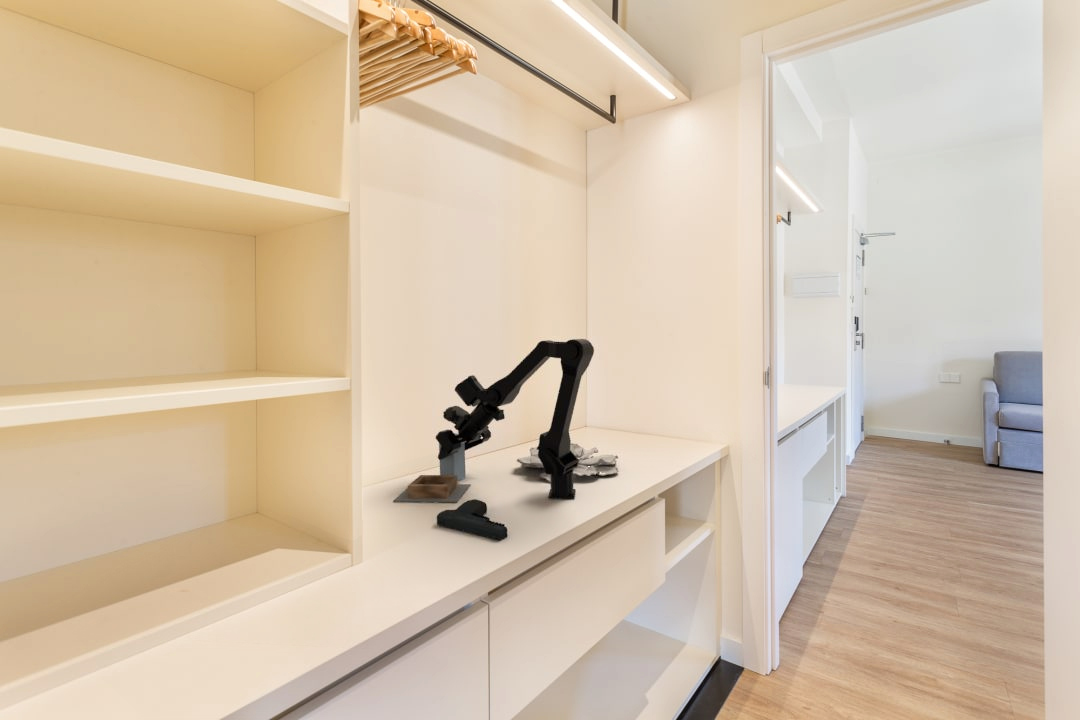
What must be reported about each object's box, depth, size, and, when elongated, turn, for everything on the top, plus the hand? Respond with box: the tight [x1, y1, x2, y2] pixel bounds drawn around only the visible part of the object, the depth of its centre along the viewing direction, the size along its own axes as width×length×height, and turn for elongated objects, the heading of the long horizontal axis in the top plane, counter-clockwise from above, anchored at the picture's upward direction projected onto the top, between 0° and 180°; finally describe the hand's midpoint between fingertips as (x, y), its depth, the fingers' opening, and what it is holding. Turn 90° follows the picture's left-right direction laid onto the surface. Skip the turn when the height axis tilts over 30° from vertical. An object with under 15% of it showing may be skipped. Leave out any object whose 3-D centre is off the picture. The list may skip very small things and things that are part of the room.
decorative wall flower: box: [516, 443, 619, 483], centre depth 155 cm, size 30×7×30 cm
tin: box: [438, 432, 467, 482], centre depth 146 cm, size 5×5×12 cm
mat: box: [392, 483, 472, 504], centre depth 134 cm, size 16×14×1 cm
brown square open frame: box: [407, 474, 459, 498], centre depth 133 cm, size 10×10×3 cm
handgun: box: [436, 498, 508, 542], centre depth 111 cm, size 3×18×12 cm
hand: (448, 455), depth 146 cm, fingers open, 8 cm apart
